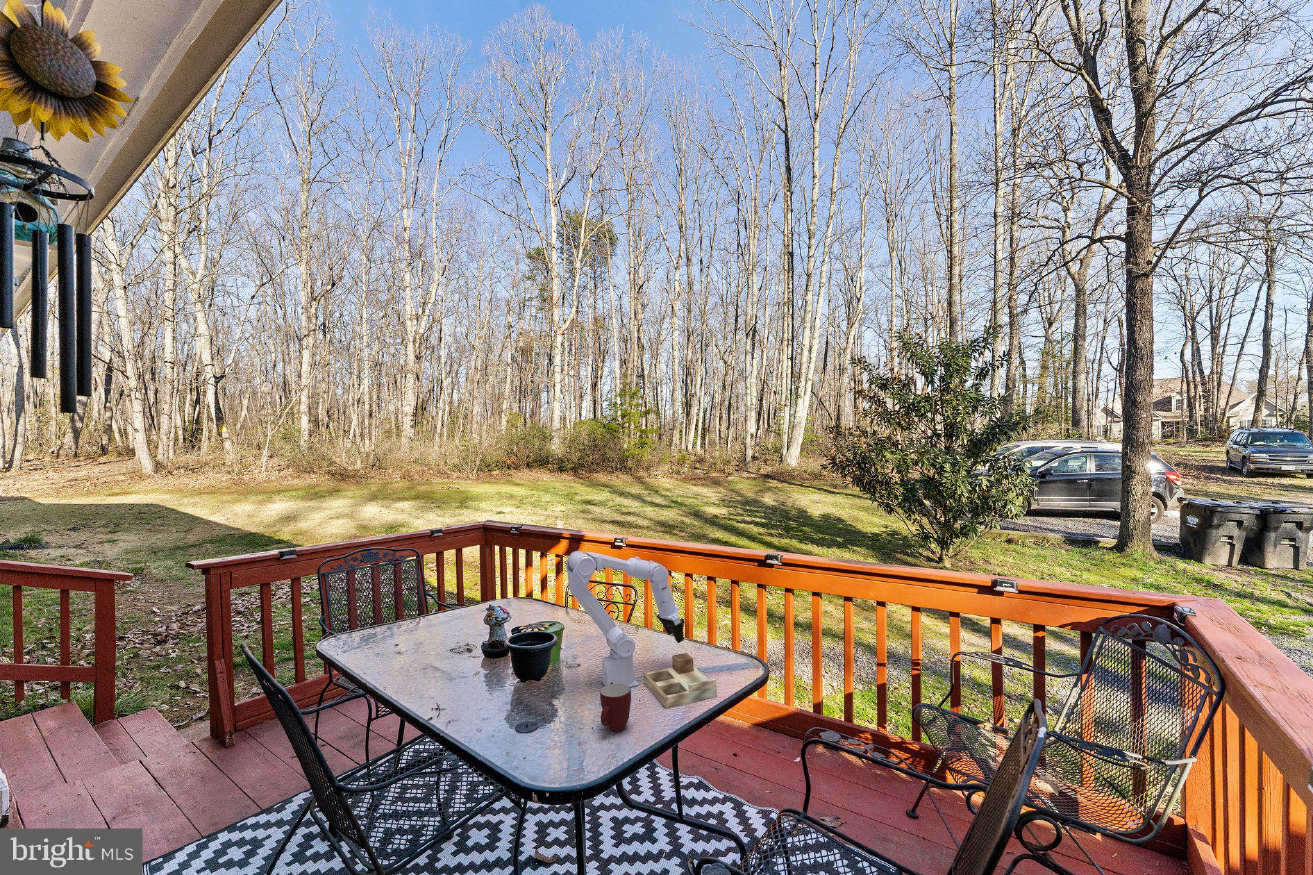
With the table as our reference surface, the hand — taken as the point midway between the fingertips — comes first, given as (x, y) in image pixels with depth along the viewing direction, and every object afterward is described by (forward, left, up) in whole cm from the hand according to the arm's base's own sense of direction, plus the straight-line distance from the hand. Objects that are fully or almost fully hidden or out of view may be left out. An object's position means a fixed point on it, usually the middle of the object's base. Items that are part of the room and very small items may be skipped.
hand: (675, 637), depth 183 cm
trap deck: (-5, -13, -11) cm, 18 cm away
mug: (-29, -27, -11) cm, 41 cm away
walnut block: (-1, -7, -8) cm, 11 cm away
